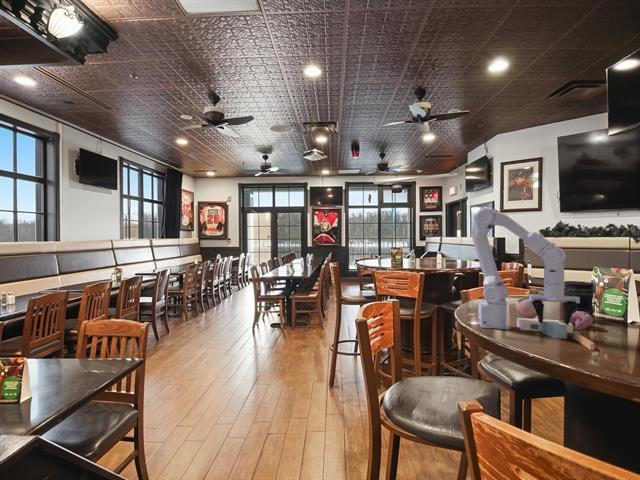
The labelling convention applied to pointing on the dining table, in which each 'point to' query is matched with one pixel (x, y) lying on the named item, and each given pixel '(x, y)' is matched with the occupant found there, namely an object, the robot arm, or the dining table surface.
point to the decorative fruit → (526, 308)
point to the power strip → (538, 324)
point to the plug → (554, 329)
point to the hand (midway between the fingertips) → (553, 323)
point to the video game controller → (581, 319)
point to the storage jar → (581, 295)
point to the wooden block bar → (583, 340)
